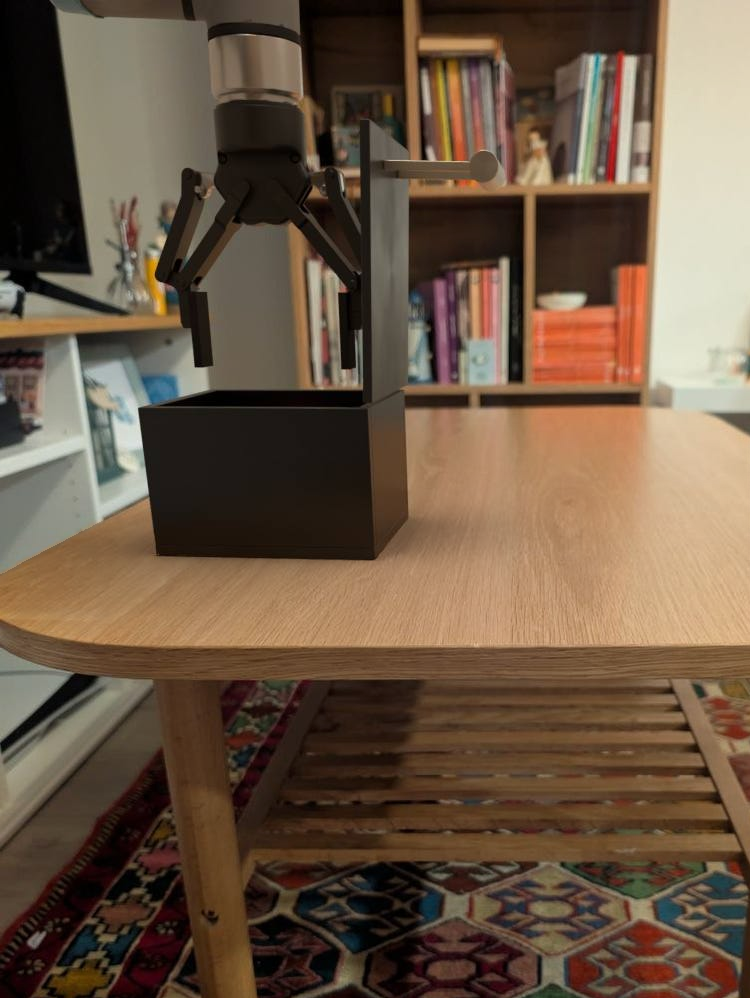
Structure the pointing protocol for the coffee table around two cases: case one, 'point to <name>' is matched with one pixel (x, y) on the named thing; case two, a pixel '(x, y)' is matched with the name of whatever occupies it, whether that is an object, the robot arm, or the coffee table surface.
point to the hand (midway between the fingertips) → (275, 368)
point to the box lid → (396, 247)
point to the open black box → (276, 473)
